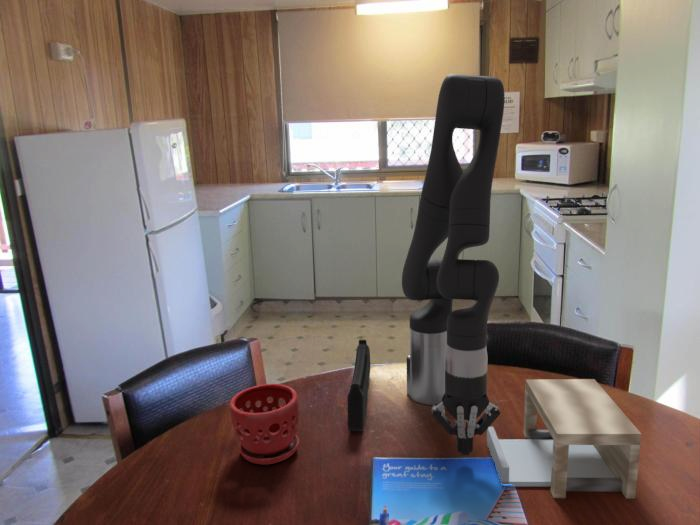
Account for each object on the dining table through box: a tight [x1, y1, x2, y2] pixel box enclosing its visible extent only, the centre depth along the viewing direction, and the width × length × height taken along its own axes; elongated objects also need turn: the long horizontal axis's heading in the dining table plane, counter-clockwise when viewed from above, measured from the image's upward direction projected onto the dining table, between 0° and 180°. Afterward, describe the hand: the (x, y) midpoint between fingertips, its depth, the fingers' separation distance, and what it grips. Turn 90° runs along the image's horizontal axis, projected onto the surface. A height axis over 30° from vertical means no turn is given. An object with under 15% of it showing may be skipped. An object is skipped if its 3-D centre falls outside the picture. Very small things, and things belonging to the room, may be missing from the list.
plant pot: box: [229, 383, 300, 466], centre depth 112 cm, size 13×13×12 cm
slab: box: [486, 426, 616, 488], centre depth 106 cm, size 20×14×4 cm
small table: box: [522, 378, 642, 500], centre depth 105 cm, size 14×21×12 cm, turn 177°
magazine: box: [346, 339, 371, 432], centre depth 131 cm, size 17×3×30 cm
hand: (464, 452), depth 107 cm, fingers closed
